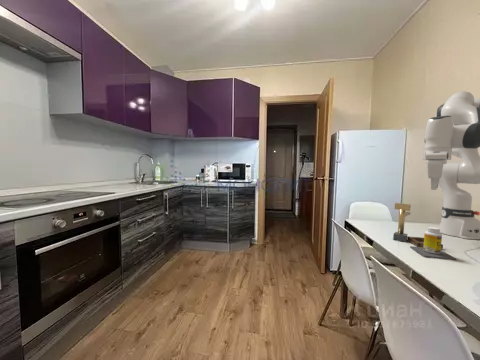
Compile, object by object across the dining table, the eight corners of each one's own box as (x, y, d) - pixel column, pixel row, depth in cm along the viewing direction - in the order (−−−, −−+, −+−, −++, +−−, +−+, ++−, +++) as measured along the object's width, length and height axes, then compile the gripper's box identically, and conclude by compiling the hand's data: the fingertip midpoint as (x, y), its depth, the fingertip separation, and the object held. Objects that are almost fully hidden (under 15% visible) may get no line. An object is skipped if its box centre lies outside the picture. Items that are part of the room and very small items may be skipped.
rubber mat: (438, 250, 99) (439, 248, 99) (456, 260, 88) (456, 258, 88) (410, 247, 101) (410, 246, 101) (423, 257, 91) (423, 255, 91)
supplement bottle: (437, 255, 91) (439, 230, 90) (420, 250, 96) (422, 227, 95) (442, 252, 94) (444, 228, 93) (426, 248, 99) (427, 225, 98)
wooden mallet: (407, 235, 109) (409, 204, 108) (392, 232, 113) (394, 203, 112) (413, 230, 117) (416, 202, 116) (400, 227, 122) (402, 200, 121)
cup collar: (429, 242, 109) (430, 238, 109) (442, 249, 100) (443, 244, 100) (407, 240, 112) (407, 236, 111) (417, 247, 102) (417, 242, 102)
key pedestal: (393, 239, 112) (393, 233, 112) (395, 237, 115) (395, 231, 115) (405, 242, 108) (406, 236, 108) (407, 240, 112) (407, 234, 112)
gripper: (429, 156, 103) (426, 186, 104) (425, 154, 88) (422, 190, 89) (447, 156, 99) (445, 187, 100) (446, 154, 84) (444, 191, 85)
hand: (434, 188), depth 95 cm, fingers open, 8 cm apart
